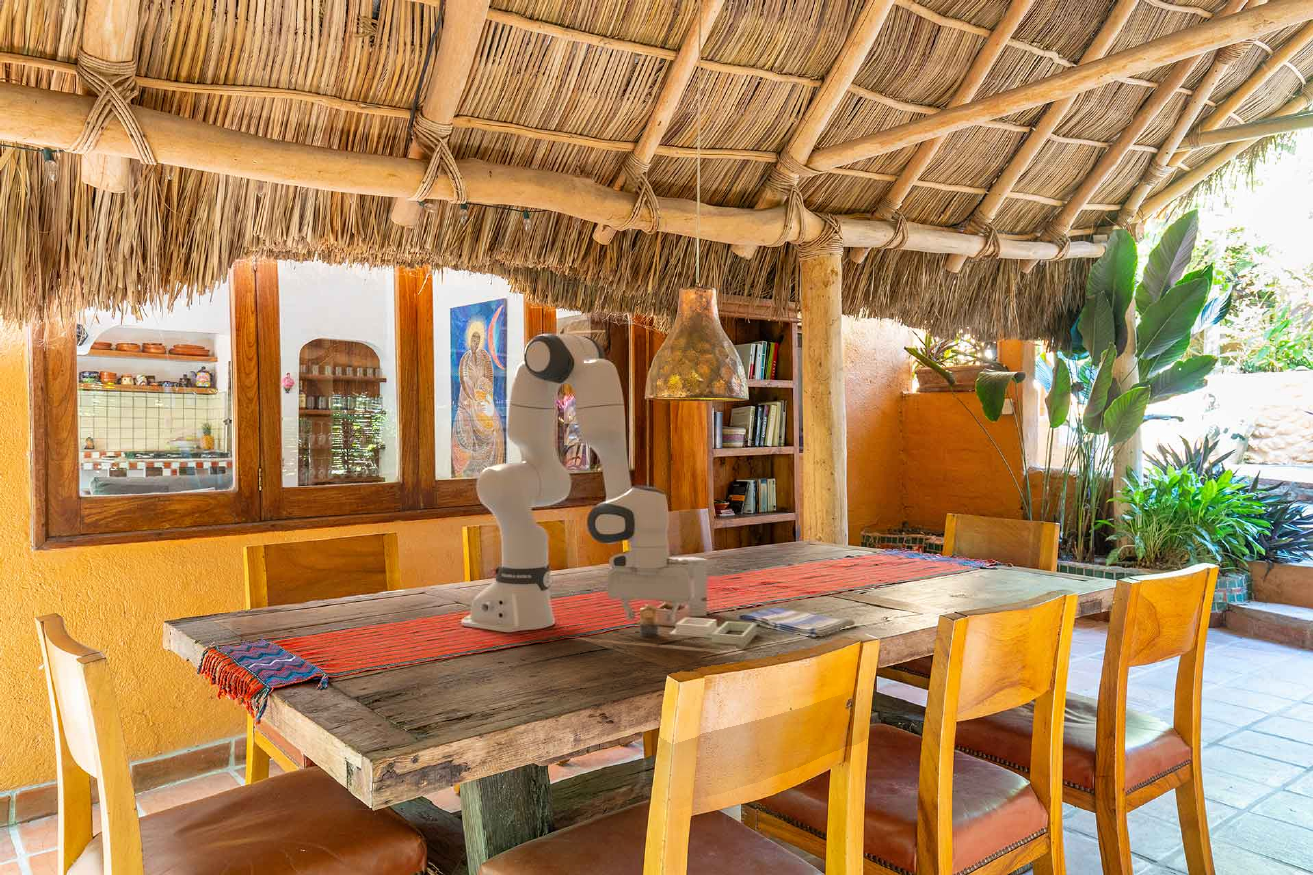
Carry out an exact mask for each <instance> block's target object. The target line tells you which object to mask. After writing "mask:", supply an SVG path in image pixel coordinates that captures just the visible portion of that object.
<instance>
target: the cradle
mask: <svg viewBox="0 0 1313 875" xmlns="http://www.w3.org/2000/svg"><path fill="white" fill-rule="evenodd" d="M674 627H675V629H673V630H672V631H670V632H669V635H675V636H686V637H698V638H710V639H712V634H713V633H714V632H715V631H716V630H717V629H718V628H719V627H720V626H719V627H717V619H715V618H714V619H713V618H701V617H685V618H683V619H682V620H680V621H679V622H678V623H676V624H675V626H674Z"/></svg>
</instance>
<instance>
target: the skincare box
mask: <svg viewBox="0 0 1313 875" xmlns="http://www.w3.org/2000/svg"><path fill="white" fill-rule="evenodd" d="M669 559H678V560H682V559H686V560H688V561H689V562H691V563H692V564H693V566H694V577H693V581H694V588H695V597H694V598H693V599H692V600H691V601H689V602H680V605H690V618H693V617H701V616H707V610H708V609H707V608H708V606H707V604H708V603H707V602H708V601H707V598H708V597H707V596H708V595H707V594H708V559H706V558H702V557H697V556H689V557H687V556H686V557H683V556H682V557H669ZM688 564H689V563H688Z"/></svg>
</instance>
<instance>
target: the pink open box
mask: <svg viewBox="0 0 1313 875" xmlns="http://www.w3.org/2000/svg"><path fill="white" fill-rule="evenodd" d="M657 607H658V626H668V627H675V624H676V623H678V622H679V621H680V620H682V619H683V618H685V617H690V605H680V610H676V612H675V621H673V622H669V621H666V618H667V617H666V614H667V613H668V612H671V610H667V609H664V602H663V603H661V604H660V605H658V606H657ZM690 618H691V617H690Z"/></svg>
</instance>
